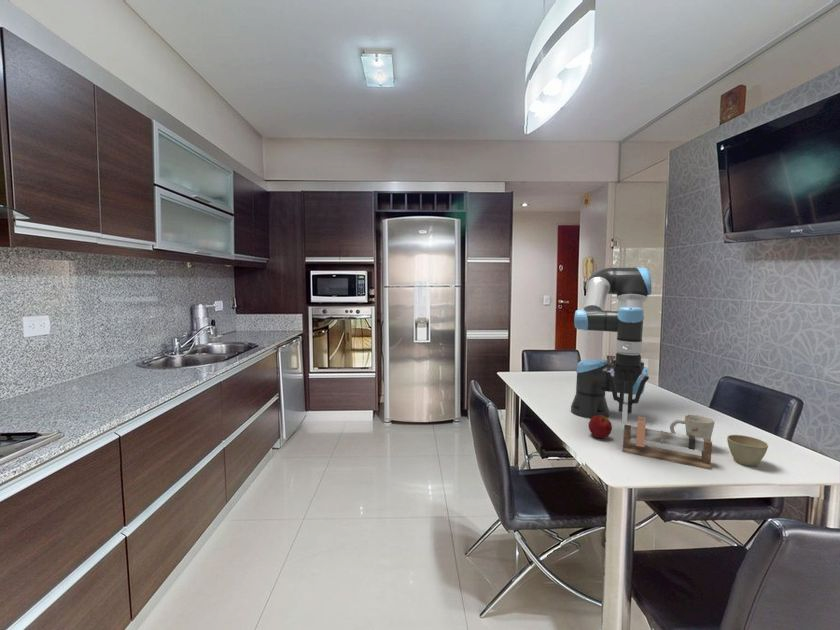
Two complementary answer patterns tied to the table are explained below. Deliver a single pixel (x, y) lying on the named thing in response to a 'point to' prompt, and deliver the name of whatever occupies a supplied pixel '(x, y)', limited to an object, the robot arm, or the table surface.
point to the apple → (600, 426)
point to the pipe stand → (670, 439)
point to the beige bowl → (746, 449)
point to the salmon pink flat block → (640, 431)
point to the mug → (696, 426)
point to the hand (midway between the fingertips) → (624, 422)
